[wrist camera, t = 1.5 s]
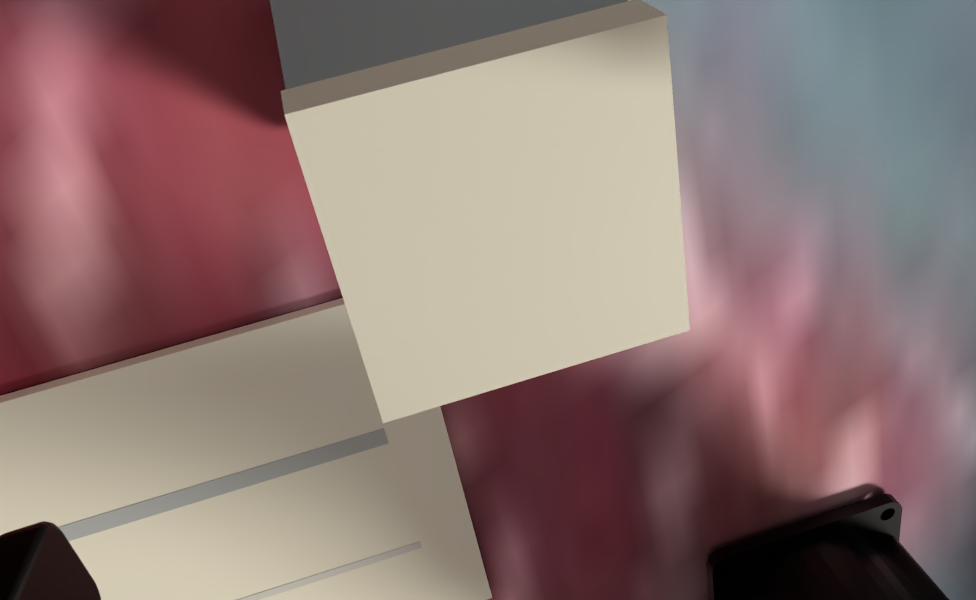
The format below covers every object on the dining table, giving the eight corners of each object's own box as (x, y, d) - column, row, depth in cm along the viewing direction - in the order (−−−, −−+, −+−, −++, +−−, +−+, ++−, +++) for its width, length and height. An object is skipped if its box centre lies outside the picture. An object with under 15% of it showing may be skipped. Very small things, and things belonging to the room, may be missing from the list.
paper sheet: (405, 279, 21) (408, 286, 21) (490, 590, 27) (492, 598, 27) (-322, 488, 19) (-330, 497, 19) (-61, 770, 25) (-64, 781, 25)
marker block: (469, -96, 17) (667, 15, 10) (505, 105, 19) (689, 330, 12) (258, -46, 17) (283, 114, 9) (320, 155, 19) (383, 423, 11)
